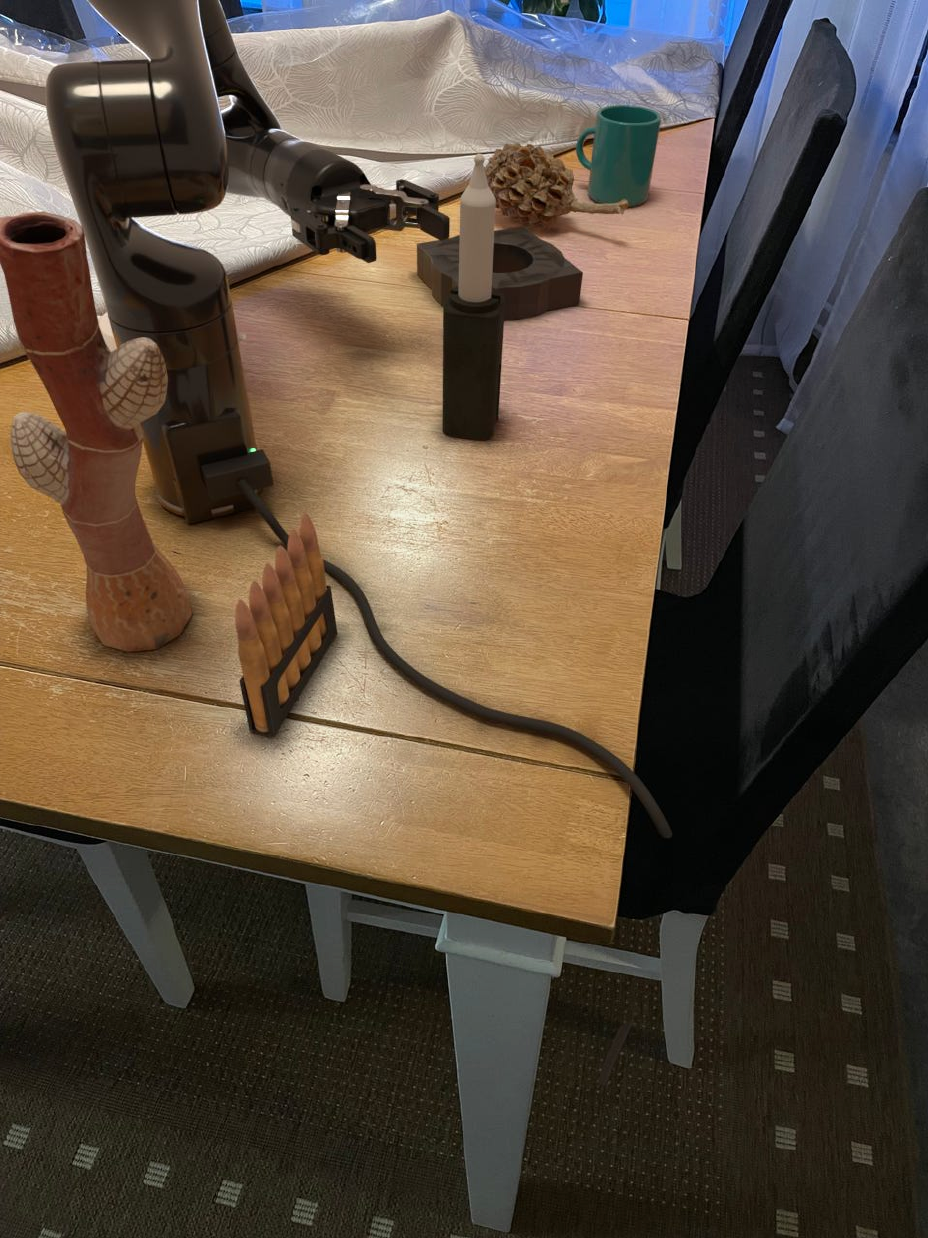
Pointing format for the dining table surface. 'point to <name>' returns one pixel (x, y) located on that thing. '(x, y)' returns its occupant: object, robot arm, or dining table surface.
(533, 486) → the dining table surface
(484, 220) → the candle
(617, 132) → the cup
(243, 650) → the ammunition clip
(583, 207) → the pine cone
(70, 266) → the vase
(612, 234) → the dining table surface
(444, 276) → the candle base
